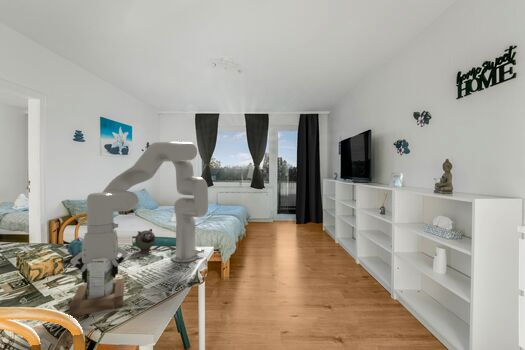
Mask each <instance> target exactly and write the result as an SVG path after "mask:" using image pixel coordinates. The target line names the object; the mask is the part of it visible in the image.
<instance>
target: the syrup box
mask: <svg viewBox="0 0 525 350" xmlns="http://www.w3.org/2000/svg"><path fill="white" fill-rule="evenodd" d="M113 265H114V264H113V263H112V262H111V261H108V258H95V259H93V260H92V261H91V263H89V264H87V283H86V285H87V298H86V299H91V298H96V297H101V296H106V295H111V294H114V292H113V280H114V278H113Z"/></svg>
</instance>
